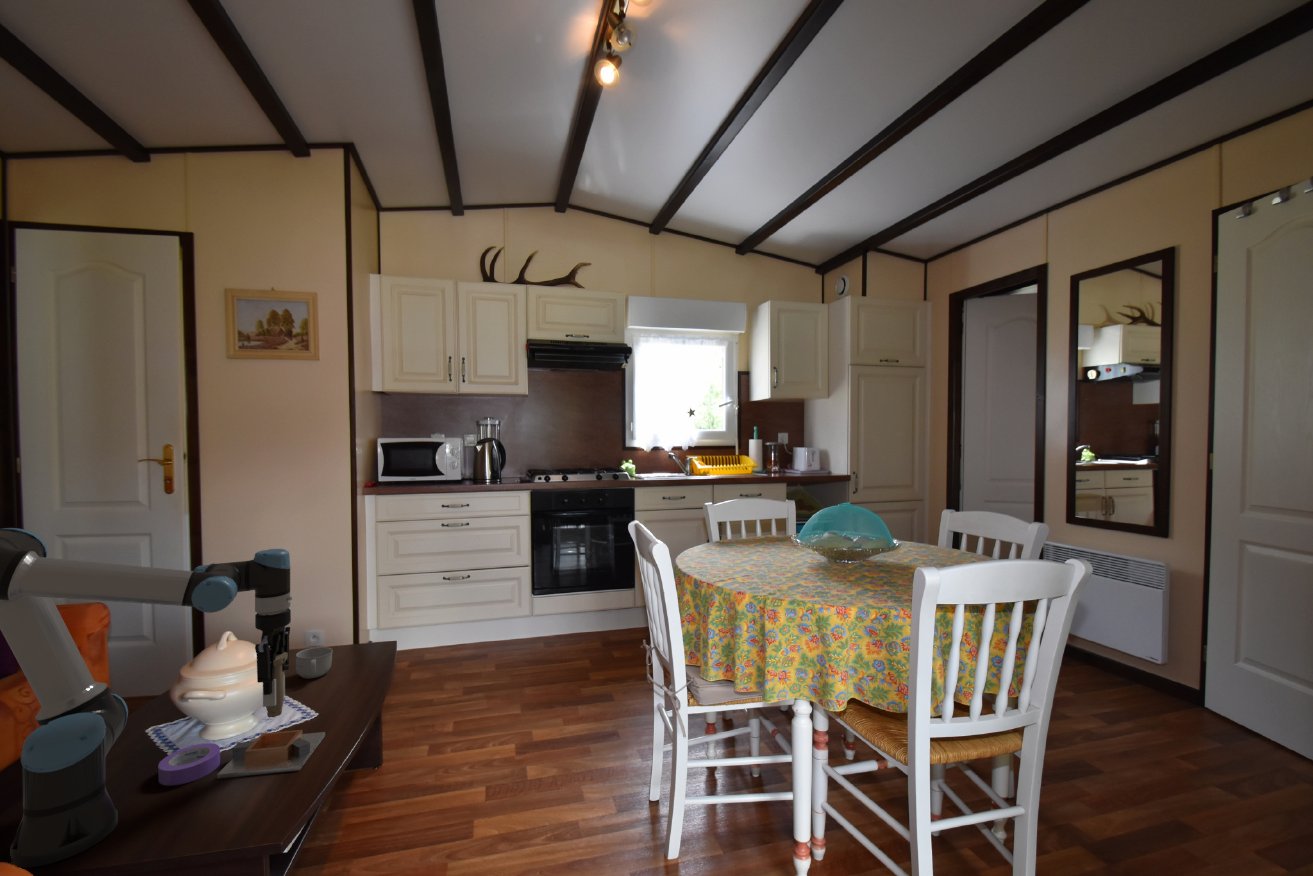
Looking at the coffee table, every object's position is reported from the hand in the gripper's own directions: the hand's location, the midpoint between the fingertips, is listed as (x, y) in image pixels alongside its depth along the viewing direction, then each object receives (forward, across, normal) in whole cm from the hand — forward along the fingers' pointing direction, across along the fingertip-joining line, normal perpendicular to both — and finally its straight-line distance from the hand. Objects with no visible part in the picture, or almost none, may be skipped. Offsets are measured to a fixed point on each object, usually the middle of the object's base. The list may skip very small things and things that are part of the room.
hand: (274, 701), depth 144 cm
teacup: (+14, +49, +10) cm, 52 cm away
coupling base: (+14, 0, 0) cm, 14 cm away
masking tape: (+15, -3, +18) cm, 23 cm away
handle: (+4, 0, 0) cm, 4 cm away
